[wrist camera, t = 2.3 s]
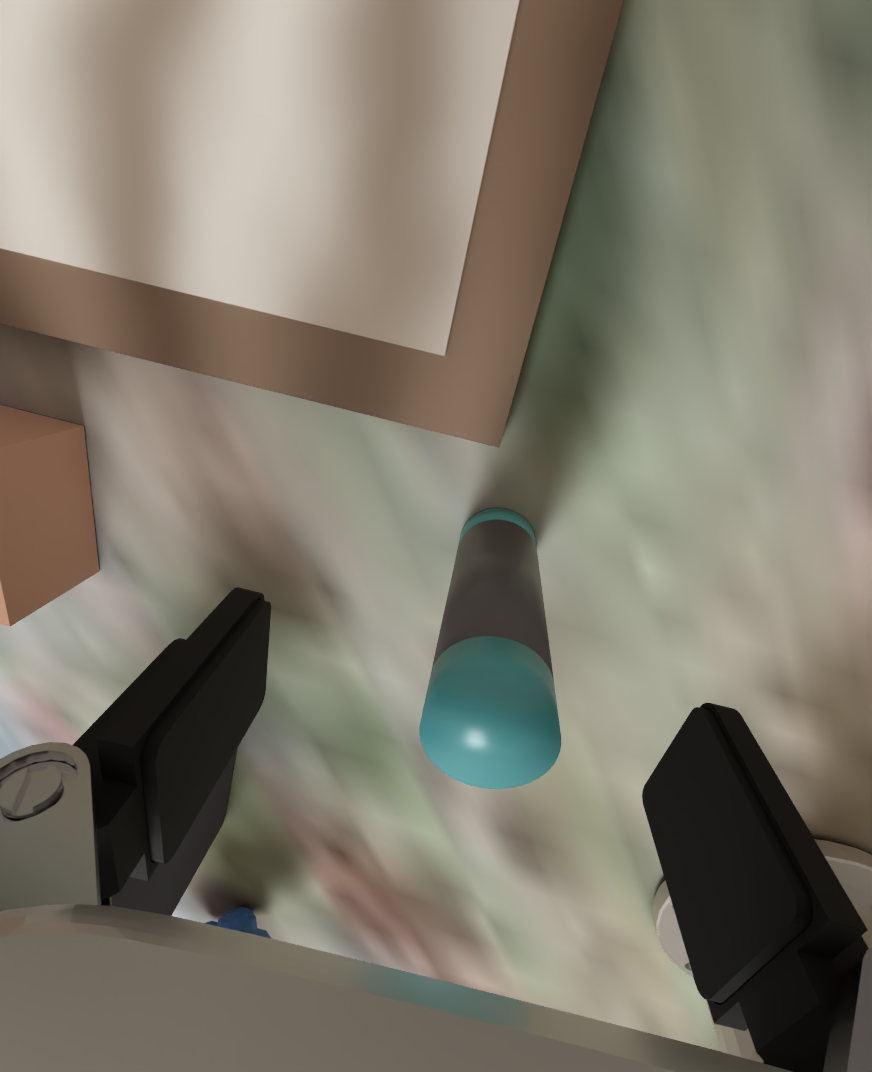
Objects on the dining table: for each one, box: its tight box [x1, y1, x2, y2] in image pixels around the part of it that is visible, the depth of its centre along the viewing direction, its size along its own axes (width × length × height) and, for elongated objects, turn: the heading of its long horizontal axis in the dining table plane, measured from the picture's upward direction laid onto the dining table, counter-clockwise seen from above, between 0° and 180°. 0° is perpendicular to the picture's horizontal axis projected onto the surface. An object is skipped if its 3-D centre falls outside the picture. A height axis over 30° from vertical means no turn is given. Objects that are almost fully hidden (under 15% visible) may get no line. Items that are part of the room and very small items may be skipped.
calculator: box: [112, 749, 237, 916], centre depth 20 cm, size 11×4×15 cm, turn 163°
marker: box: [420, 508, 561, 789], centre depth 15 cm, size 3×3×10 cm
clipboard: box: [0, 0, 624, 447], centre depth 13 cm, size 24×18×2 cm
